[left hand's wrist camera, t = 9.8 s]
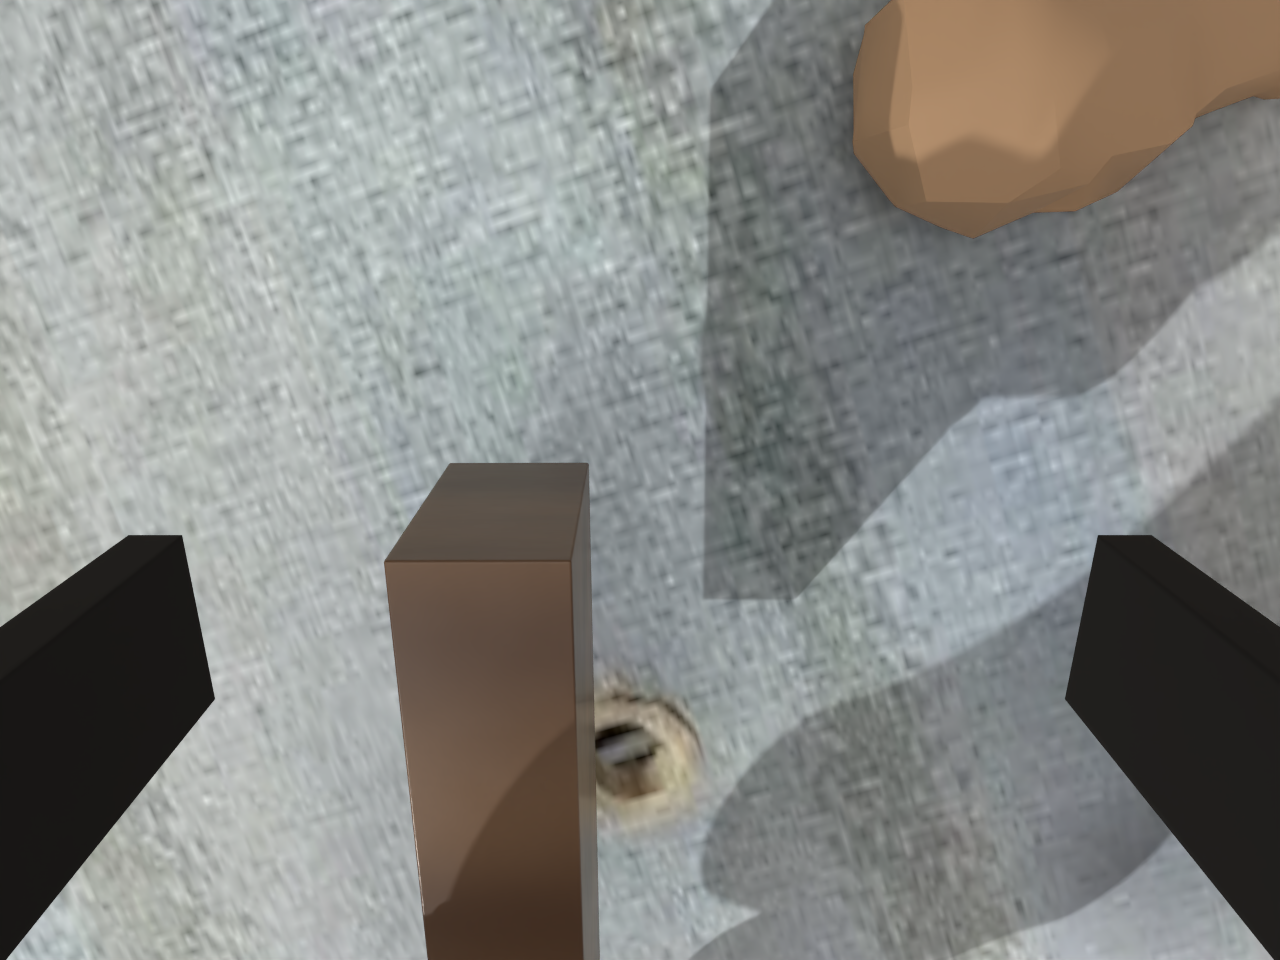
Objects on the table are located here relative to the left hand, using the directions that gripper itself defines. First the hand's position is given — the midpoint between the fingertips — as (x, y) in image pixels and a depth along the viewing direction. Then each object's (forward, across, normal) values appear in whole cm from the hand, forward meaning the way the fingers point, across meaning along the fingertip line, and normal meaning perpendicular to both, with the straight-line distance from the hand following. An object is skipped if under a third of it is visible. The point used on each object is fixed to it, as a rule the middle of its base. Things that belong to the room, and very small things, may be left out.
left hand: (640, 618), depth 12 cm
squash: (+30, +18, +10) cm, 36 cm away
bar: (+18, -4, -16) cm, 25 cm away
